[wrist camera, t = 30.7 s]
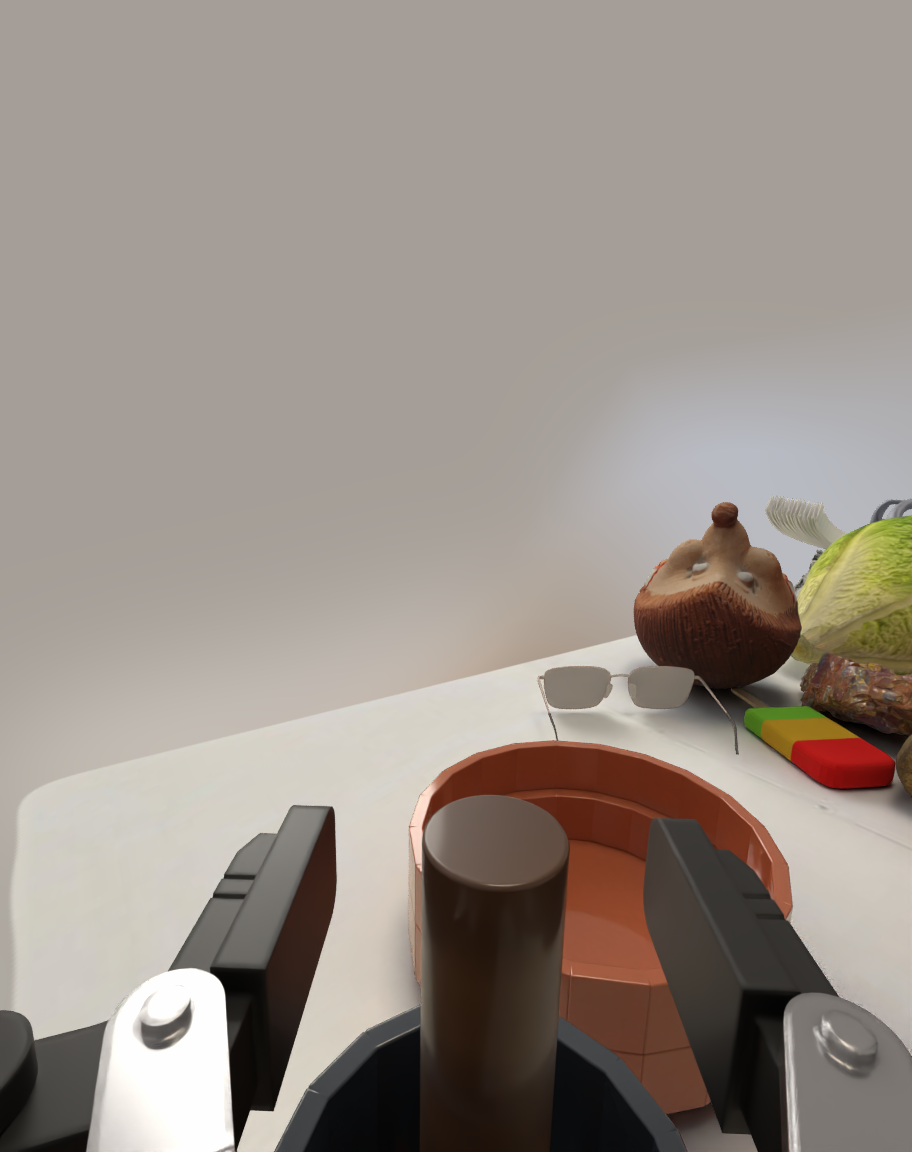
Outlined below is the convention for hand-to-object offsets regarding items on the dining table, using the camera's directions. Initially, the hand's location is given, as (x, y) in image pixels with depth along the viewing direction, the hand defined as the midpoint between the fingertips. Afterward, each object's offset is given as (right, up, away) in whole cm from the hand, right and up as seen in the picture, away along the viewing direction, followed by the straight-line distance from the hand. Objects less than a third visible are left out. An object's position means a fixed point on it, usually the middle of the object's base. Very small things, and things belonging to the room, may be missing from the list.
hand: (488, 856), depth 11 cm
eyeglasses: (+13, -7, +36) cm, 39 cm away
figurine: (+26, +2, +50) cm, 56 cm away
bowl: (+5, -11, +16) cm, 20 cm away
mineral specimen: (+30, -7, +37) cm, 48 cm away
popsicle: (+26, -8, +36) cm, 45 cm away
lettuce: (+44, -4, +53) cm, 69 cm away
